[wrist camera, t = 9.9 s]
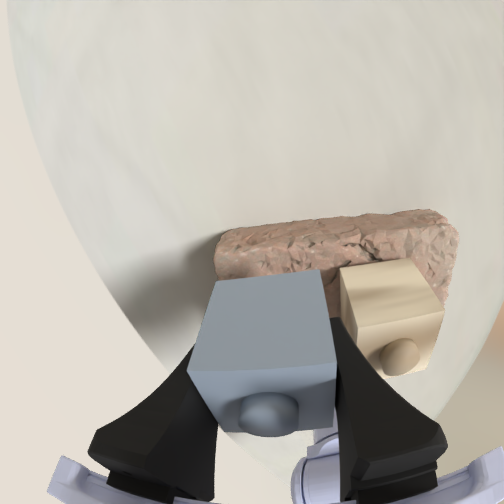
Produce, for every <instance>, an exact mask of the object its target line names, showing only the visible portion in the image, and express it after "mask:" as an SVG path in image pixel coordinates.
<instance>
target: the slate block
mask: <svg viewBox="0 0 504 504" xmlns="http://www.w3.org/2000/svg"><path fill="white" fill-rule="evenodd" d="M336 370H337V360H336V354H335V348H334V342H333V336H332V331H331V325H330V320H329V314H328V309H327V304H326V299H325V294H324V289H323V284H322V279H321V274H320V270H319V269H316V270H308V271H300V272H292V273H284V274H276V275H267V276H258V277H249V278H240V279H231V280H222V281H216V283H215V286H214V289H213V292H212V294H211V297H210V300H209V303H208V306H207V309H206V312H205V315H204V318H203V322H202V325H201V328H200V331H199V334H198V337H197V340H196V343H195V346H194V349H193V352H192V355H191V359H190V362H189V365H188V368H187V372H188V374H189V376H190V377H191V379H192V381H193V383H194V384H195V386H196V388H197V389H198V391H199V393H200V394H201V396H202V398H203V399H204V401H205V403H206V404H207V406H208V408H209V409H210V411H211V412H212V414H213V415H214V417H215V419H216V420H217V422H218V423H219V425H220V426H221V428H222V429H223V431H224V432H247V433H249V434H252V435H256V436H261V437H280V436H285V435H288V434H291V433H293V432H294V431H302V430H313V429H323V428H331V427H333V419H334V406H335V390H336Z"/></svg>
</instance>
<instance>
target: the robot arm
mask: <svg viewBox="0 0 504 504" xmlns="http://www.w3.org/2000/svg"><path fill="white" fill-rule="evenodd" d="M329 320H330V325H331V331H332V336H333V342H334V348H335V354H336V360H337V370H336V390H335V406H334V419H333V427H331V428H323V429H313V434H314V445H312V446H308V447H307V457H303V458H301V459H300V460H299V462H298V463H297V465H296V466H295V468H294V470H293V473H292V477H291V496H292V501H293V504H497V503H499V502H500V501H502V500H503V499H504V451H503V449H502V446H499V447H497V448H495V449H494V450H492V451H490V452H488V453H486V454H484V455H482V456H480V457H478V458H477V459H475V460H474V461H472V462H471V463H470V464H469V465H468V466H466V467H464V468H462V469H459V470H457V471H454V472H452V473H450V474H447V475H445V476H442V477H439V478H437V477H436V472H435V470H436V469H437V462H436V460H437V459H438V458H439V457H440V456H441V455H442V454H443V453H444V452H445V451H446V449H447V448H448V444H447V440H446V438H445V435H444V433H443V431H442V428H441V426H440V425H439V424H438V423H437V422H435V421H433V420H432V419H430V418H429V417H427V416H426V415H424V414H423V413H421V412H420V411H419V410H417V409H416V408H415V407H413V406H412V405H411V404H410V403H408V402H407V401H406V400H405V399H404V398H403V397H401V396H400V395H399V394H398V393H397V392H396V391H395V390H394V389H393V388H392V387H391V386H390V385H389V384H388V383H387V382H386V381H385V380H384V379H383V378H382V377H381V376H380V375H379V374H378V373H377V372H376V370H375V369H374V368H373V367H372V365H371V364H370V363H369V362H368V360H367V359H366V358H365V357H364V355H363V354H362V352H361V351H360V350H359V348H358V347H357V345H356V344H355V342H354V341H353V339H352V338H351V336H350V334H349V333H348V331H347V329H346V327H345V325H344V323H343V321H342V319H341V318H340V317H333V318H329ZM194 346H195V344H194ZM194 346H193V347H192V348H191V350H190V351H189V352H188V354H187V355H186V356H185V357H184V359H183V360H182V361H181V363H180V364H179V365H178V366H177V367H176V369H175V370H174V371H173V372H172V373H171V374H170V376H169V377H168V378H167V379H166V380H165V381H164V382H163V383H162V384H161V385H160V386H159V387H158V388H157V389H156V390H155V391H154V392H153V393H152V394H151V395H150V396H148V397H147V398H146V399H145V400H143V401H142V402H141V403H140V404H138V405H137V406H136V407H134V408H133V409H132V410H130V411H129V412H127V413H126V414H125V415H123V416H121V417H120V418H118V419H116V420H115V421H113V422H111V423H109V424H107V425H105V426H103V427H101V428H100V429H97V430H96V433H95V435H94V437H93V440H92V442H91V444H90V447H89V449H88V454H89V456H90V457H91V458H92V459H94V460H95V461H97V462H98V463H99V464H101V465H102V466H104V467H105V468H107V469H108V470H110V473H109V476H108V477H106V476H103V475H100V474H98V473H95V472H93V471H90V470H89V469H88V468H86V467H85V466H83V465H81V464H80V463H78V462H76V461H74V460H71V459H69V458H67V457H65V456H61V457H60V460H59V462H58V464H57V467H56V469H55V472H54V474H53V477H52V479H51V482H50V484H49V487H48V490H47V492H48V493H49V494H51V495H52V496H54V497H55V498H57V499H59V500H60V501H62V502H64V503H65V504H218V503H211V502H210V501H211V500H213V499H214V472H215V453H216V440H217V431H218V422H217V420H216V419H215V417H214V415H213V414H212V412H211V411H210V409H209V408H208V406H207V404H206V403H205V401H204V399H203V398H202V396H201V394H200V393H199V391H198V389H197V388H196V386H195V384H194V383H193V381H192V379H191V377H190V376H189V374H188V372H187V368H188V365H189V362H190V359H191V355H192V352H193V349H194Z"/></svg>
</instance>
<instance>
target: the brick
mask: <svg viewBox="0 0 504 504" xmlns="http://www.w3.org/2000/svg"><path fill="white" fill-rule="evenodd" d="M458 243H459V235H458V232H457V230H456V229H455V228H453V227H452V225H450V224H448V220H447V218H445V217H444V216H442V215H440V214H439V213H438V212H436V211H432V210H430V209H428V210H420V209H417V210H410V211H402V212H397V213H394V214H392V215H384V214H365V215H360V216H357V217H344V216H341V217H334V218H321V219H318V220H312V219H310V220H302V221H293V222H286V223H277V224H266V225H261V226H254V227H248V228H238V229H232V230H229V231H227V232H226V233H224V234H223V235H222V237H221V239H220V241H219V243H217V244H216V247H215V254H214V258H213V261H214V266H215V272H216V274H217V276H218V278H219V279H218V281H222V280H231V279H240V278H249V277H258V276H267V275H276V274H284V273H292V272H300V271H308V270H316V269H319V270H320V274H321V279H322V284H323V289H324V294H325V299H326V304H327V309H328V314H329V318H333V317H340V318H341V302H340V268H343V267H351V266H358V265H364V264H371V263H378V262H385V261H391V260H398V259H404V258H410V259H411V260H412V261H413V263H414V264H415V266H416V267H417V268H418V270H419V271H420V273H421V274H422V276H423V277H424V278H425V280H426V281H427V283H428V284H429V286H430V287H431V289H432V290H433V292H434V293H435V295H436V296H437V298H438V299H439V301H440V303H441V304H442V306H443V307H444V305H445V301H446V299H447V297H448V285H449V284H450V281H451V277H452V269H453V267H454V264H455V260H456V255H457V247H458Z"/></svg>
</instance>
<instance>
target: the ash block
mask: <svg viewBox="0 0 504 504" xmlns="http://www.w3.org/2000/svg"><path fill="white" fill-rule="evenodd" d="M340 302H341V319H342V321H343V323H344V325H345V327H346V329H347V331H348V333H349V334H350V336H351V338H352V339H353V341H354V342H355V344H356V345H357V347H358V348H359V350H360V351H361V352H362V354H363V355H364V357H365V358H366V359H367V360H368V362H369V363H370V364H371V365H372V367H373V368H374V369H375V370H376V372H377V373H378V374H379V375H380V376H381V377H382V378H383V379H387V378H391V377H396V376H400V375H404V374H409V373H413V372H417V371H420V370H424V369H426V368H427V365H428V363H429V360H430V357H431V354H432V352H433V349H434V346H435V343H436V340H437V337H438V333H439V330H440V327H441V324H442V320H443V317H444V313H445V309H444V307H443V306H442V304H441V303H440V301H439V299H438V298H437V296H436V295H435V293H434V292H433V290H432V289H431V287H430V286H429V284H428V283H427V281H426V280H425V278H424V277H423V276H422V274H421V273H420V271H419V270H418V268H417V267H416V266H415V264H414V263H413V261H412V260H411V259H410V258H404V259H398V260H391V261H385V262H378V263H371V264H364V265H358V266H351V267H343V268H340Z"/></svg>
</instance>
